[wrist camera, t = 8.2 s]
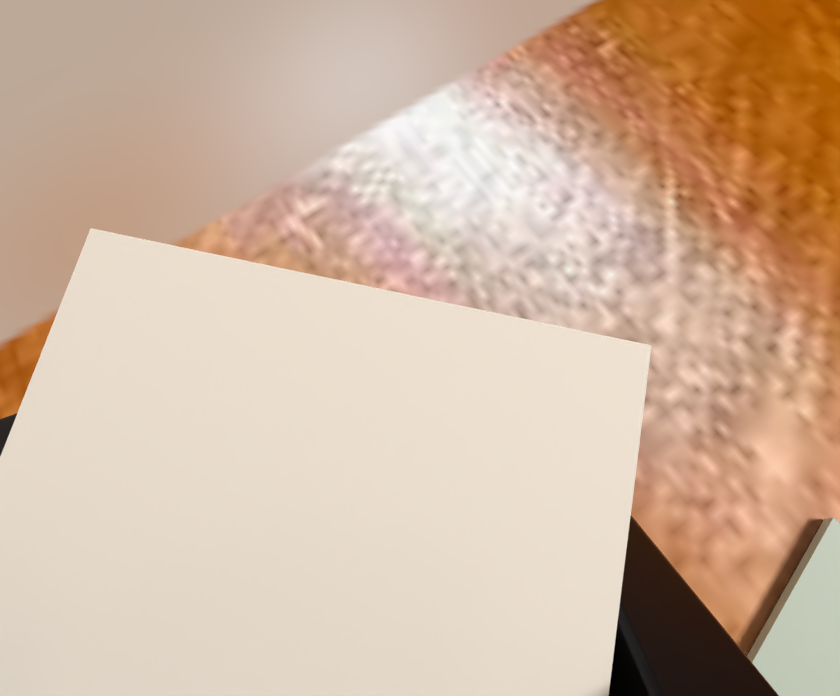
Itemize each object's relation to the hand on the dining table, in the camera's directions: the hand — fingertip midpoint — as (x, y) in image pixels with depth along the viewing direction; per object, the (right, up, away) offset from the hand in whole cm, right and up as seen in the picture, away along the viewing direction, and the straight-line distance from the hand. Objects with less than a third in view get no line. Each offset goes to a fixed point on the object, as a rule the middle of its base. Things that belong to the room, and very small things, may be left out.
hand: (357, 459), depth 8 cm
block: (0, -3, +6) cm, 6 cm away
